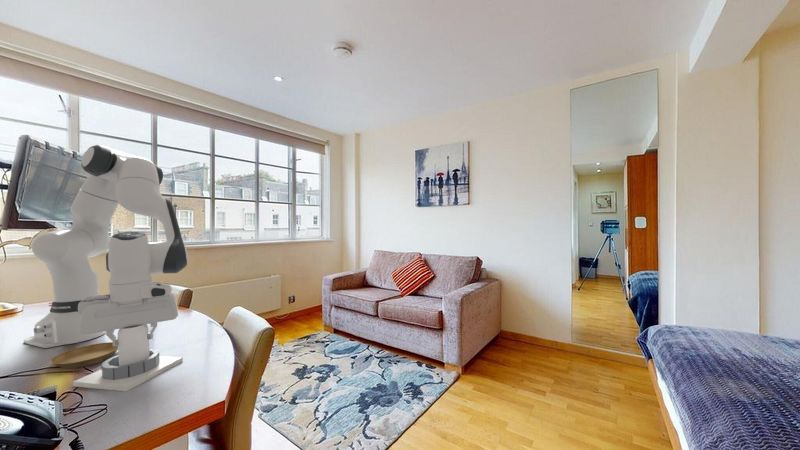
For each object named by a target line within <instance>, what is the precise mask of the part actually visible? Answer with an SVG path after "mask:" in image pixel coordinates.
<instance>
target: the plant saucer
mask: <svg viewBox="0 0 800 450" xmlns="http://www.w3.org/2000/svg"><path fill="white" fill-rule="evenodd" d="M117 351H118V346H113V345H112V341H111V342H110V341H107V342H99V343H93V344H88V345H84V346H80V347H76V348H74V349H73V348H72V349H70V350H66V351H63V352H61V353H59V354H57V355H55V356H54V357H52V358H51V359H50V363H51V364H53V365H54V366H56V367H59V368H61V369H65V370H66V369H77V368H82V367H87V366H91V365H95V364H98V363H100V362H104V361H106V360H107V359H109V358H111V357H113V355H115V353H116V352H117Z"/></svg>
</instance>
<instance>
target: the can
mask: <svg viewBox="0 0 800 450" xmlns="http://www.w3.org/2000/svg"><path fill="white" fill-rule="evenodd" d="M149 329H150V328H149V326H148V324H144V325H139V326H133V327H127V328H121V329H118V332H117V338H118V341H119V345H118V350H117V351H118V352H117V353H118V354H117V355H119V366H121V365H128V364H132V363H136V362H139V361H142V360H144V359H147V358H149V357H150V349H151V348H150V339H149V340H148V339H147V334H148V333H149V332H150V330H149Z"/></svg>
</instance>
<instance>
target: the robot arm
mask: <svg viewBox="0 0 800 450" xmlns="http://www.w3.org/2000/svg"><path fill="white" fill-rule="evenodd" d="M81 167H82V169H83V170H84V172H86V173H87V174H89V175H88V176H87V178H86V179H85V180H84V182H83V183H82V184H81V187H80V188H79V190H78V192H77V194H76V196H75V198H74V200H73V202H72V203H71V206H70V213H71V214H72V218H73V219H72V224H71V227H70V228H69V229H56V230H53V231H49V232H45V233H43V234H40V235H39V236H37V237H36V238H35V239H34V240H33V242H32V244H31V245H32V246H31V250H32V253H33V255H34V256H35V257H36V258H37V259H39V260H40V261H42V262H43V263H44V264H45V265H46V267H47V270H48V271H49V273H50V277H51V279H52V284H53V285H52V286H53V288H52V289H53V301H52V302H49V303H48V307H50V309H49V313H47V314H46V316H44V317H43V318H41V319H40V320H39V321H37V322H36V323H35V324H34V328H33V332H34V333H33V335H32V336H29V337H27V338H26V339H24V340H23V343H24V344H27V345H31V346H35V347H37V348H38V347H39V348H42V349H47V348H53V347H58V346H65V345H72V344H76V343H82V342H87V341H89V340H92V339H95V338H98V337H101V336H103V335H106V336H107V337H108V338H109V339H110V340H111V342H112V345H113V346H118V345H119V341H118V336H116V335H115V334H114V333H115V330H119V329H121V328H127V327H133V326H139V325H144V324H147V325H150V328H151V329H150V330H149V333H148V334H147V339H148V340H149V341H150V340H153V338H154V332H155V331H156V329H157V328H158V323H161V322H166V321H173V320H175V319H177V317H179V310H178V309H179V308H178V303H177V299H176V297H175V295H174V294H173V293H172V291H173V289H172V286H171V285H170V284H167V283H159V282H153V277H152V275H157V274H158V275H159V274H178V273H180V272H181V271H183V269H185V268H186V267H187V266H188V263H189V252H188V250H187V247H186V245H185V243H184V240H183V238H182V237H183V236H182V234H181V230H180V226H179V223H178V219H177V214H176V212H175V208H174V205H173V204H172V201H171V200H170V199H169V198H166V197H164V196H163V195H162V193H161V191H160V185H161V183H162V182H163V179H164V172H163V170H162V168H161V167H159V166H158V165H156V164H154V162H152V160H149V159H148V158H145V157H141V156H136V155H133V154H129V153H127V152H126V153H125V152H123V151H119V150H118V149H117V150H116V149H113V148H111V147H109V146H104V145H101V144H96V145H93V146H90V147H88V148H87V150H86V151H85V152H84V153H83V155H82V157H81ZM119 205H120V206H121V207H122V208H123V209H125V210H127V211H128V212H131V213H134V214H136V215H140V216H145V217H149V218H151V219H155V220H156V221H157V220H158V221H159V222H161V224H162V225H163V230H164V233H165V238H166V240H164V241H156V242H152V241H151V242H149V238H148V235H147V234H146V233H144V232H138V231H125V232H120V233H116V234H114V235H111V237H110V235H109V231H110V230H109V229H110V226H111V225H110V224H111V222H112V218H113V216H114V214H115V212H116V210H117V208H118V206H119ZM106 251H108V252H107V253H106V254H105V263H106V264H105V265H106V266H105V267H106V271H108V272H109V273H110V278H109V282H108V287H109V288H108V292H109V294H102V295H100V294H99V275H98V274H97V272H95V271H94V270H93V269H92V267H91V265H90V263H89V260H88V258H89V259H91V258H94V257H97V256H99V255H101V254H104V253H105V252H106Z"/></svg>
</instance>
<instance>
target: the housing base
mask: <svg viewBox="0 0 800 450" xmlns="http://www.w3.org/2000/svg"><path fill="white" fill-rule="evenodd" d="M149 349H150V357H149V358H147V359H144V360H142V361H139V362H136V363H132V364H128V365H121V366H119V355H118V354H116V355H114V356H111V357H109V358H108V359H106V360H104V361H102V363H101V369H99V370H96V371H94V372H92V373H89V374H88V375H85V376H83V377H81V378H78V379H76V380H73V381H72V387H75V388H76V387H77V388H85V389H86V388H87V389H97V390H98V389H99V390H105V391H116V392H117V391H118V392H128V391H129V390H132V389H134V388H136V387H137V386H139V385H141V384H143V383H145V382H147V381H148V380H151V379H152V378H154V377H156V376H158V375H160V374H162V373H164V372H165V371H168V370H169V369H171V368H173V367H175V366H177V365H179V364H181V363H183V361H184V360H183V359H184V358H183V357H182V356H167V355H160V351H159V350H158V349H157V348H149Z"/></svg>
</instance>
